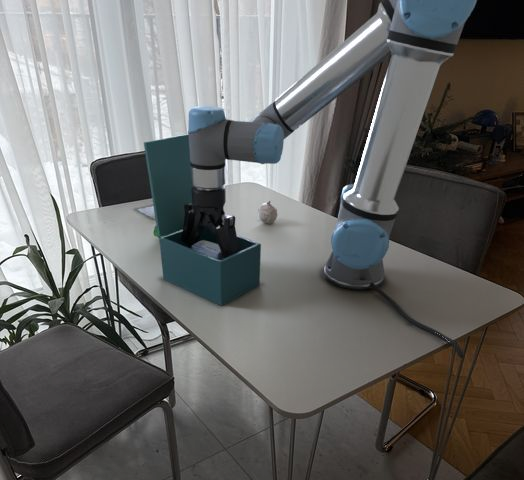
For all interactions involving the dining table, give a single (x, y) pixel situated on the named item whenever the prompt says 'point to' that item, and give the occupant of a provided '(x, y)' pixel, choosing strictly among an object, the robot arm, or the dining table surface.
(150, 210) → the architectural model
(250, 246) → the box
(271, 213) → the garlic bulb
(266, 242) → the dining table surface
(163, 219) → the lunchbox lid
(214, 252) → the medicine box
